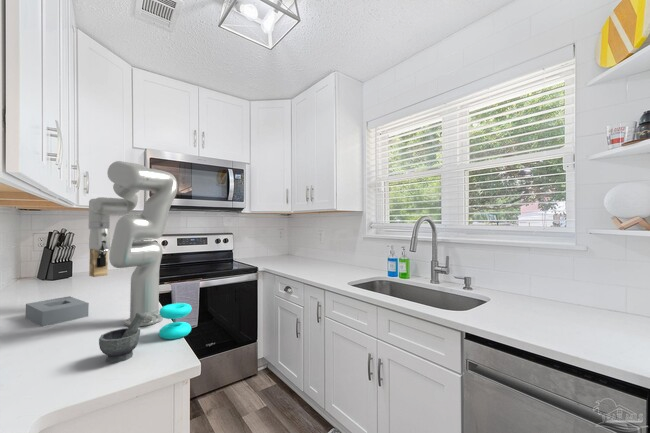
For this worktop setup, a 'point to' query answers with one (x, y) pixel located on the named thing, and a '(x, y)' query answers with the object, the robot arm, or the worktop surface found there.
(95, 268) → the oak post
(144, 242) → the robot arm
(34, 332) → the worktop surface
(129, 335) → the mortar and pestle
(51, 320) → the well block
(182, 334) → the donuts
